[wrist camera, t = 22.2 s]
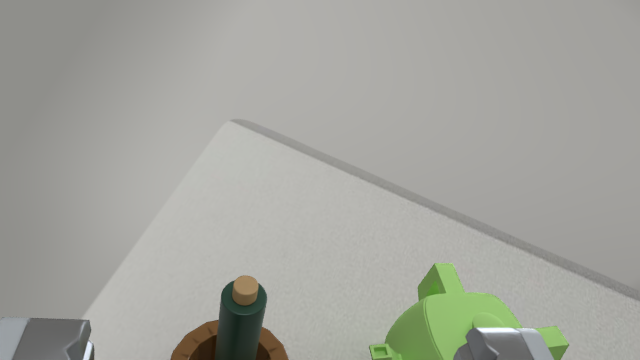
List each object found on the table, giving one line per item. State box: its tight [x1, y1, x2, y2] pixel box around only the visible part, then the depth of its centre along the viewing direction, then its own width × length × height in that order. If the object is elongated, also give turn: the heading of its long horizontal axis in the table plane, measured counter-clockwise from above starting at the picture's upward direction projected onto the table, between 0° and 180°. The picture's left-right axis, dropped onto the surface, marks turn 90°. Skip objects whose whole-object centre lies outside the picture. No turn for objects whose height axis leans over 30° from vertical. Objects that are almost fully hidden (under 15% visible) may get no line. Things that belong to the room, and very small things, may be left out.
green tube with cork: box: [215, 276, 267, 360], centre depth 31 cm, size 3×3×12 cm
